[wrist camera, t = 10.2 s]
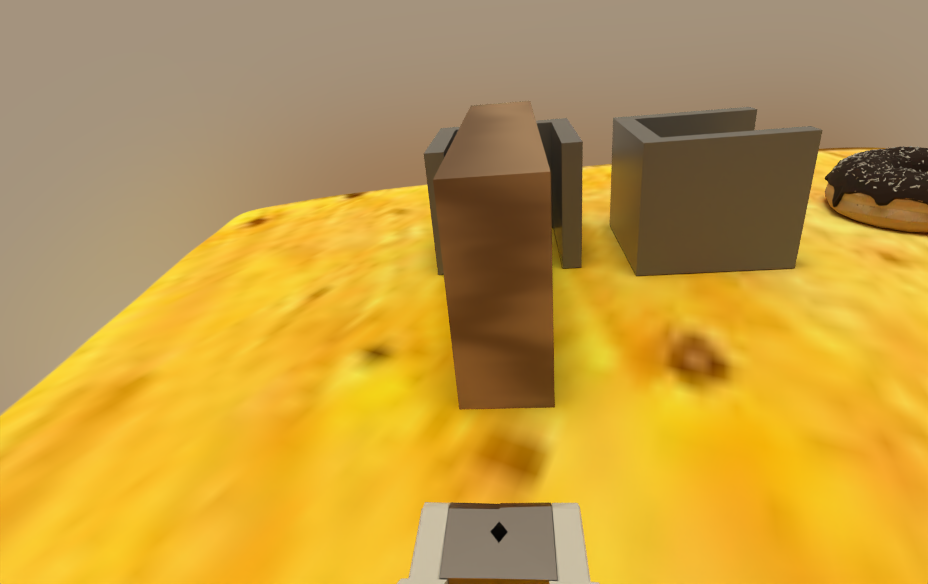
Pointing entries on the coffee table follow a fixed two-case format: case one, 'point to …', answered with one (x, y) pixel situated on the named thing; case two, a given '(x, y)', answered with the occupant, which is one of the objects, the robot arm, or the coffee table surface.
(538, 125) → the end cap
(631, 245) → the end cap
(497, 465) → the coffee table surface
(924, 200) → the donut
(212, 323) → the coffee table surface
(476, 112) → the slat
